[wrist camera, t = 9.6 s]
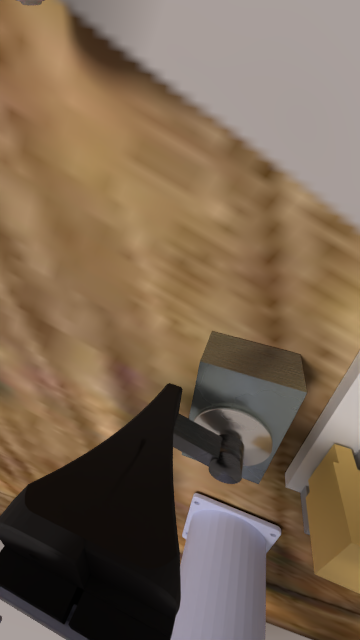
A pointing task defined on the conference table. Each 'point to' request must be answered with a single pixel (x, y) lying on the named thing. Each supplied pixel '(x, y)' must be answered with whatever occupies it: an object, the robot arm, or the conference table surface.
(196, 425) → the dark lever handle
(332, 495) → the carriage
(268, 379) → the lever base
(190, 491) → the conference table surface
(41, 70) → the conference table surface
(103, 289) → the conference table surface
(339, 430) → the rail
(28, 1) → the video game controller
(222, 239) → the conference table surface
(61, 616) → the robot arm
